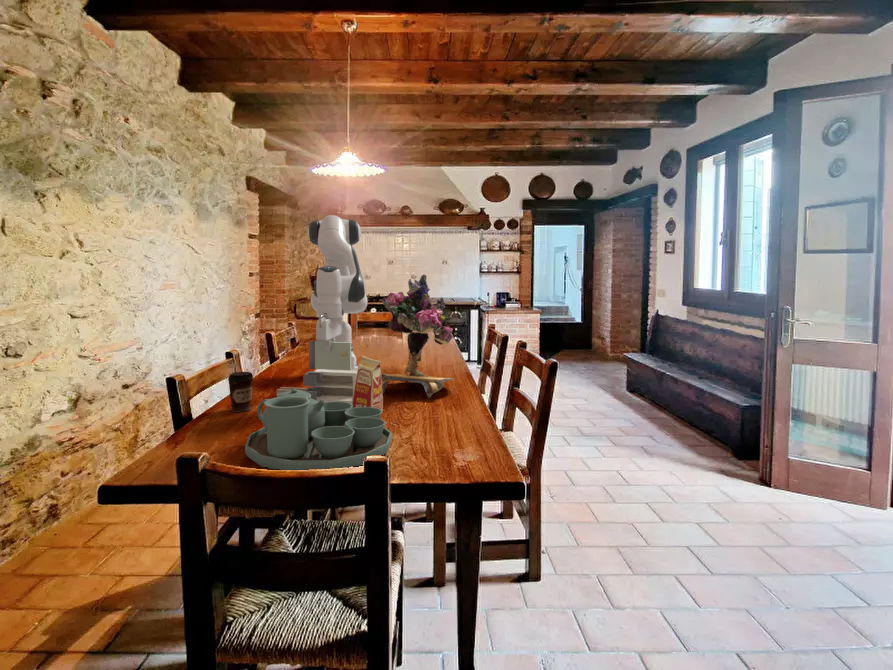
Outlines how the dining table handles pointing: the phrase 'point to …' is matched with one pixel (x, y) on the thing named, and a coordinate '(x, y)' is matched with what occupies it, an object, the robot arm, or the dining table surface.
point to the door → (330, 356)
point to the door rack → (288, 389)
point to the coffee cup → (240, 390)
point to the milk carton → (368, 385)
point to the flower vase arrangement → (423, 319)
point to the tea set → (315, 433)
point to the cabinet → (331, 384)
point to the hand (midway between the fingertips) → (329, 350)
